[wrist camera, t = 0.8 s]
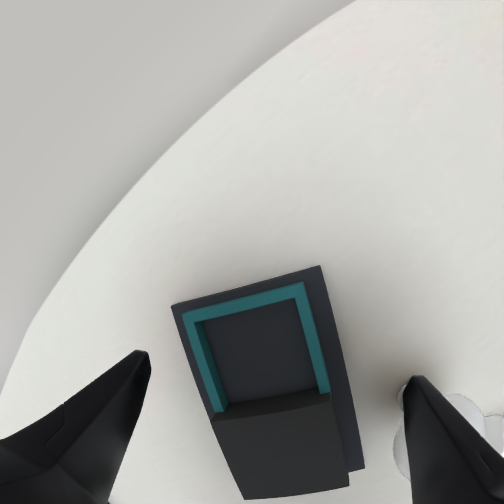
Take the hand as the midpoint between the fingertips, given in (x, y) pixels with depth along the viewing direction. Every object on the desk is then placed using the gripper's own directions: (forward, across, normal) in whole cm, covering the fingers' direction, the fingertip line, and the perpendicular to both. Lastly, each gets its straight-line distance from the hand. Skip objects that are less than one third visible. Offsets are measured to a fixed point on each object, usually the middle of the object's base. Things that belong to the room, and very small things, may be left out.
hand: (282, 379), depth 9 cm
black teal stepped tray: (+10, -1, +13) cm, 16 cm away
